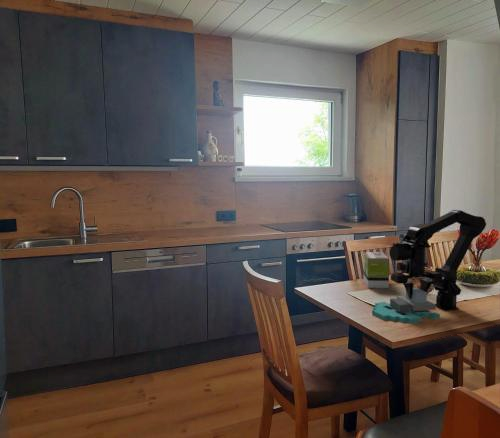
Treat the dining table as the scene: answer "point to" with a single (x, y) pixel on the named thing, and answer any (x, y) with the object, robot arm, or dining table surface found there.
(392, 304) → the graphite chip
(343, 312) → the dining table surface
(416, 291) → the sanding block
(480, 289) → the dining table surface
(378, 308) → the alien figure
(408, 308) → the graphite chip
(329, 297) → the dining table surface
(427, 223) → the robot arm
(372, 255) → the tea box
